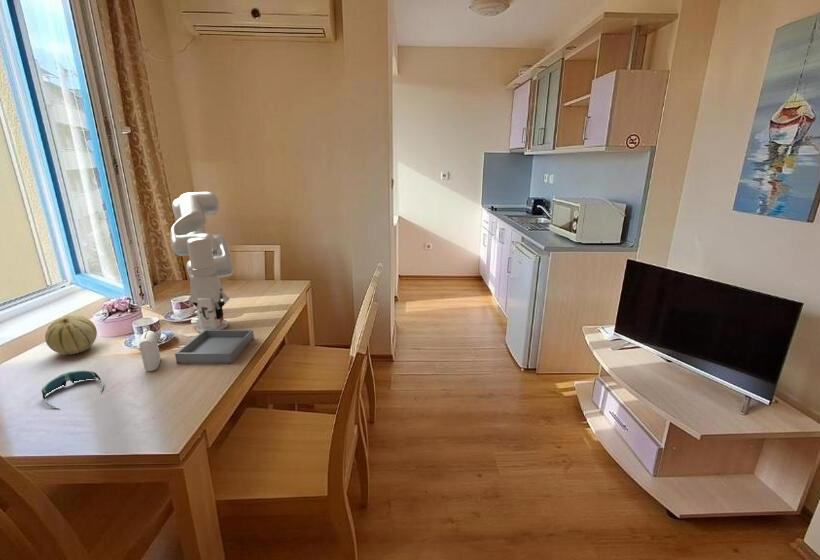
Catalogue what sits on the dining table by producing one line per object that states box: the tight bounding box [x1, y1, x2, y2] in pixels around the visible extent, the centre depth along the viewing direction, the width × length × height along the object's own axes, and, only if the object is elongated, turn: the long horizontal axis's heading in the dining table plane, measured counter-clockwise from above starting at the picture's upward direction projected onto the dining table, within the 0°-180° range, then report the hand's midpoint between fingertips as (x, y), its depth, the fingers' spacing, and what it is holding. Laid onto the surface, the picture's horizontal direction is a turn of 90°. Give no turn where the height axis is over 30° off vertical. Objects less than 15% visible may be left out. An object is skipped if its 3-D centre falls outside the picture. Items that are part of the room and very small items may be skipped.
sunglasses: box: [41, 369, 104, 408], centre depth 121 cm, size 14×15×5 cm
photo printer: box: [138, 330, 162, 372], centre depth 136 cm, size 10×4×12 cm, turn 26°
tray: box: [174, 329, 255, 365], centre depth 147 cm, size 20×20×4 cm
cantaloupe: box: [44, 314, 98, 355], centre depth 145 cm, size 15×15×15 cm
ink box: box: [197, 298, 225, 329], centre depth 143 cm, size 9×5×12 cm, turn 5°
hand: (212, 317), depth 144 cm, fingers closed on ink box, 5 cm apart
